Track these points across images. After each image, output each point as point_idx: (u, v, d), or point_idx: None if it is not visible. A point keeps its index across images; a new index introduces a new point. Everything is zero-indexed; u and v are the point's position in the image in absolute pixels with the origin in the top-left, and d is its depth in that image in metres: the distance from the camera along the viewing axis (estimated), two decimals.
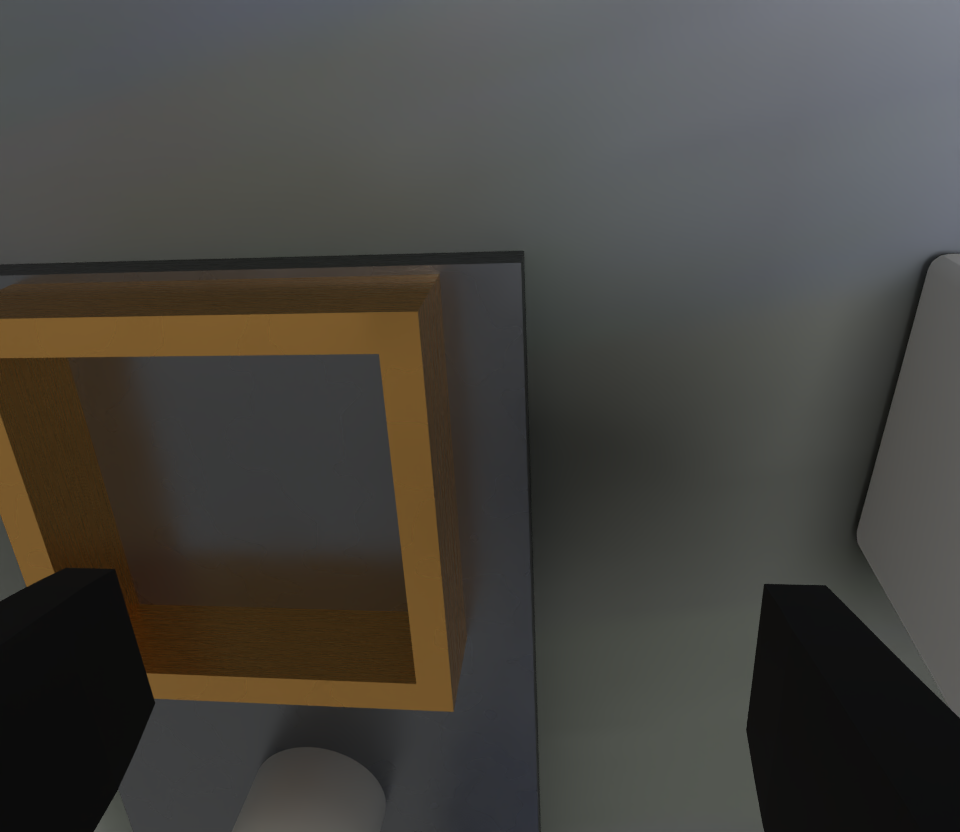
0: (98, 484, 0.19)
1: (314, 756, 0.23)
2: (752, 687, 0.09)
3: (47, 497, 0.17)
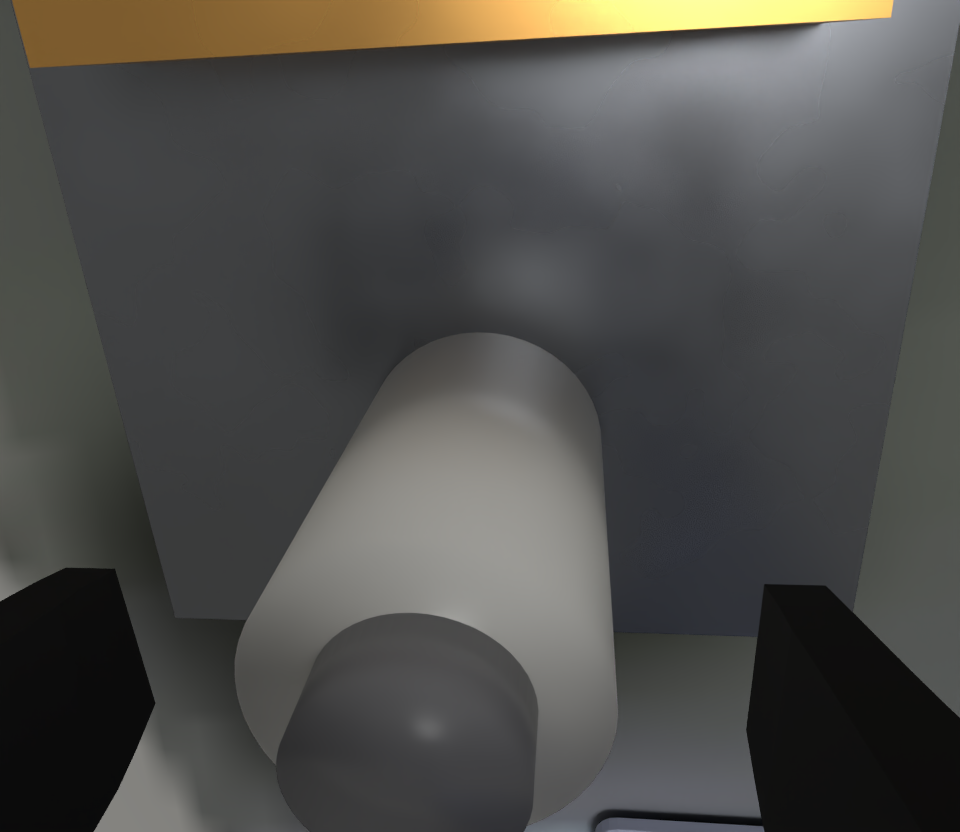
0: None
1: (488, 339, 0.12)
2: (752, 687, 0.09)
3: None
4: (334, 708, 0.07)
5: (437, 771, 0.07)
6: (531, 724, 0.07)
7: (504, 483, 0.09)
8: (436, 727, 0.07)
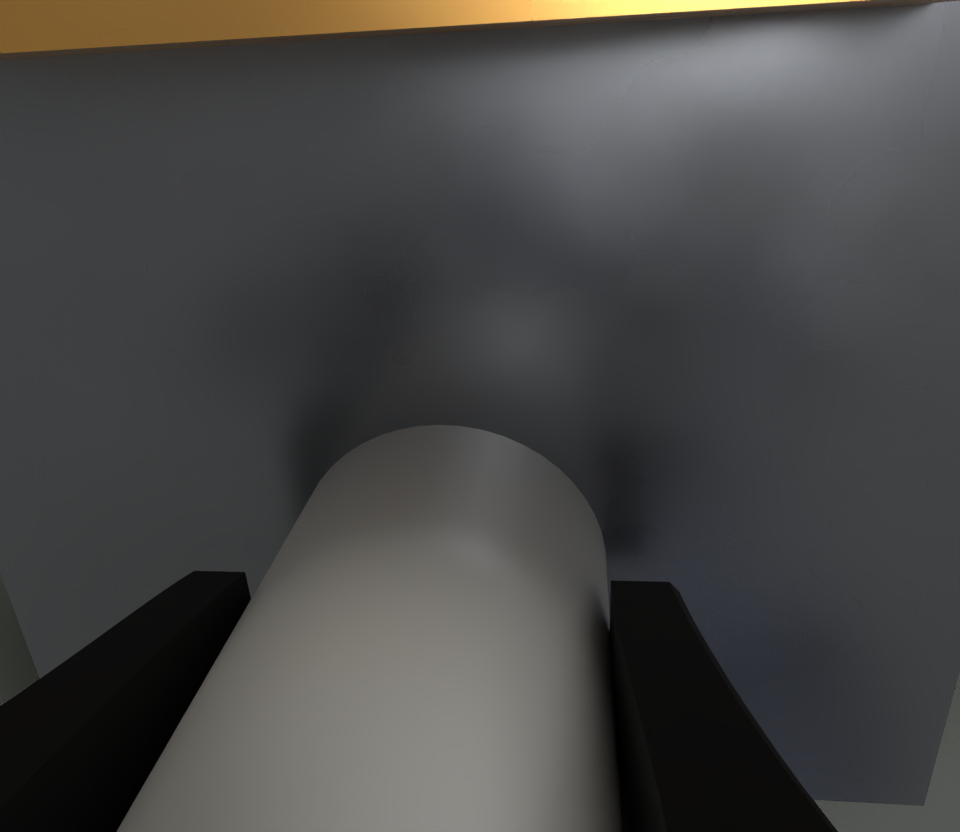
0: None
1: (454, 437, 0.09)
2: None
3: None
4: None
5: None
6: None
7: (456, 743, 0.05)
8: None
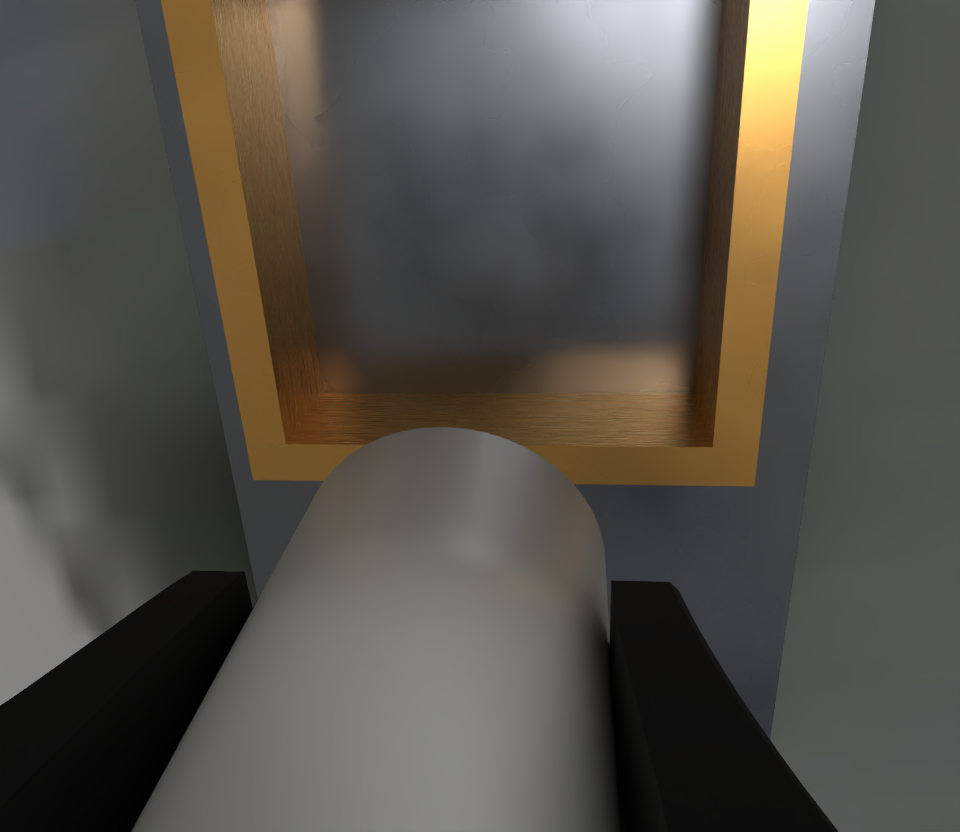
0: (294, 220, 0.16)
1: (456, 440, 0.09)
2: None
3: (256, 200, 0.14)
4: None
5: None
6: None
7: (461, 750, 0.06)
8: None
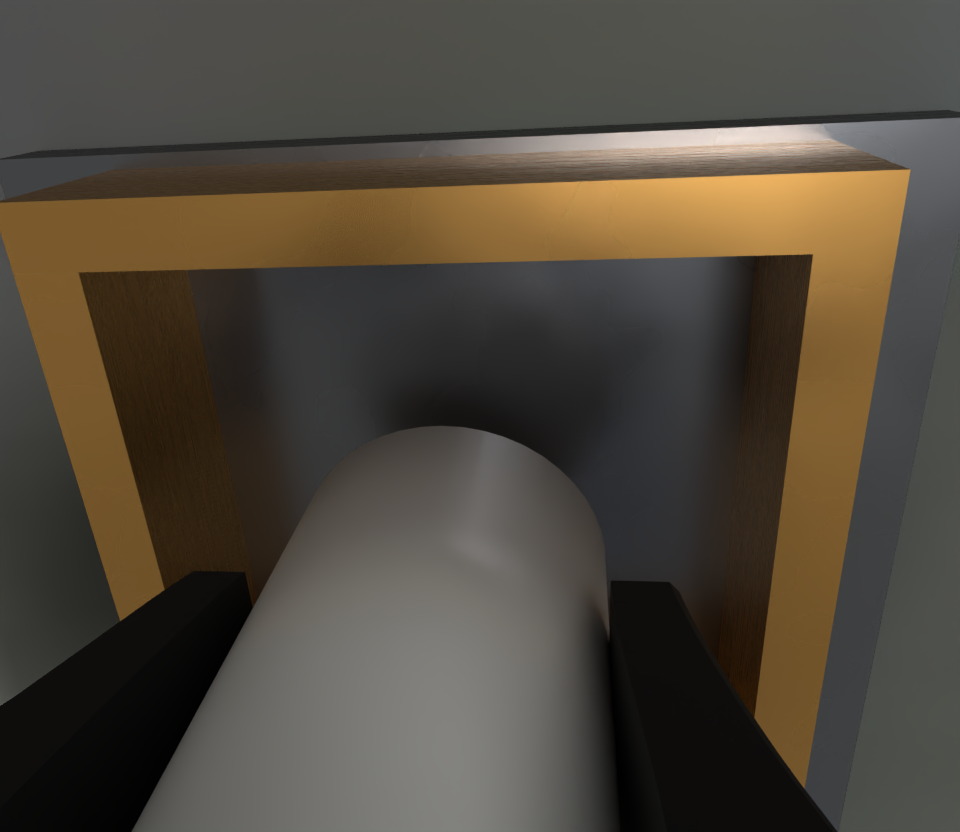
0: (226, 489, 0.13)
1: (456, 439, 0.09)
2: None
3: (167, 510, 0.11)
4: None
5: None
6: None
7: (459, 752, 0.06)
8: None
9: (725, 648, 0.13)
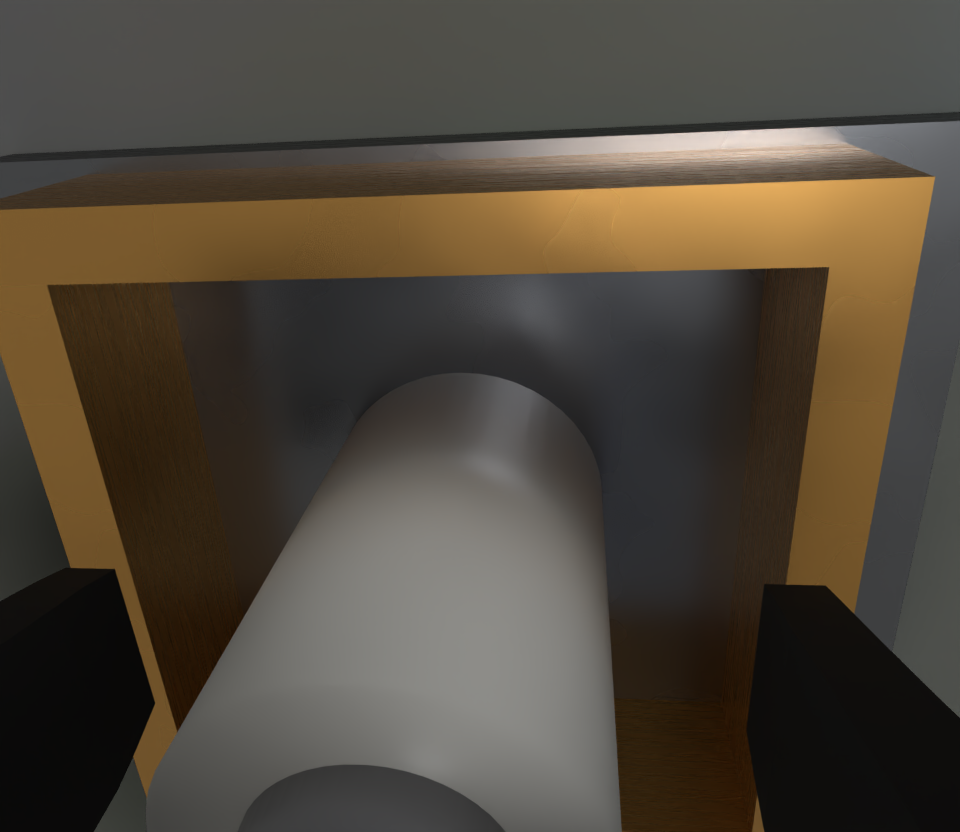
0: (211, 506, 0.12)
1: (472, 382, 0.11)
2: (752, 687, 0.09)
3: (146, 532, 0.10)
4: None
5: None
6: None
7: (485, 583, 0.07)
8: None
9: (731, 672, 0.12)
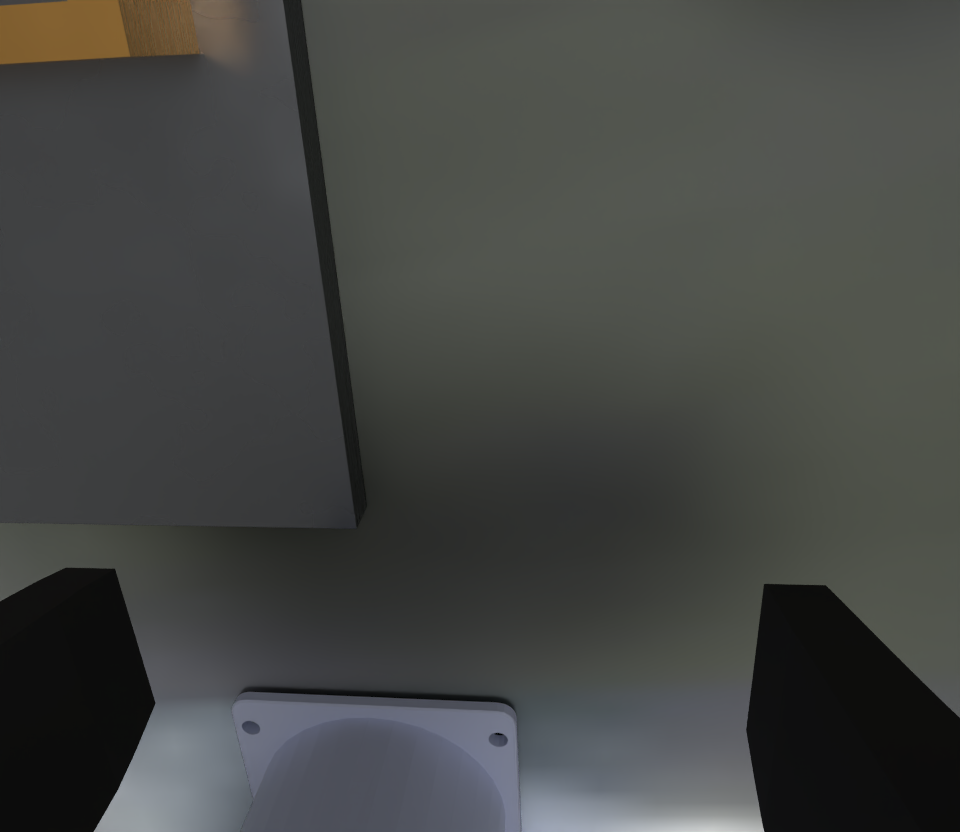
0: None
1: None
2: (752, 687, 0.09)
3: None
4: None
5: None
6: None
7: None
8: None
9: None
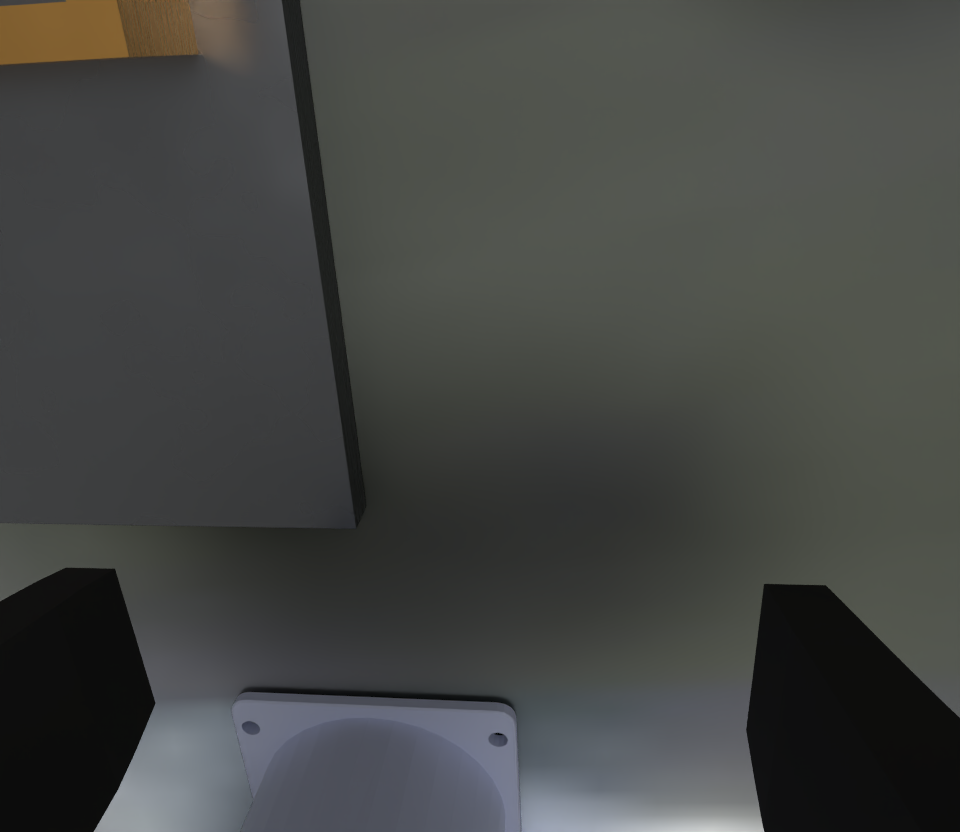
0: None
1: None
2: (752, 687, 0.09)
3: None
4: None
5: None
6: None
7: None
8: None
9: None
